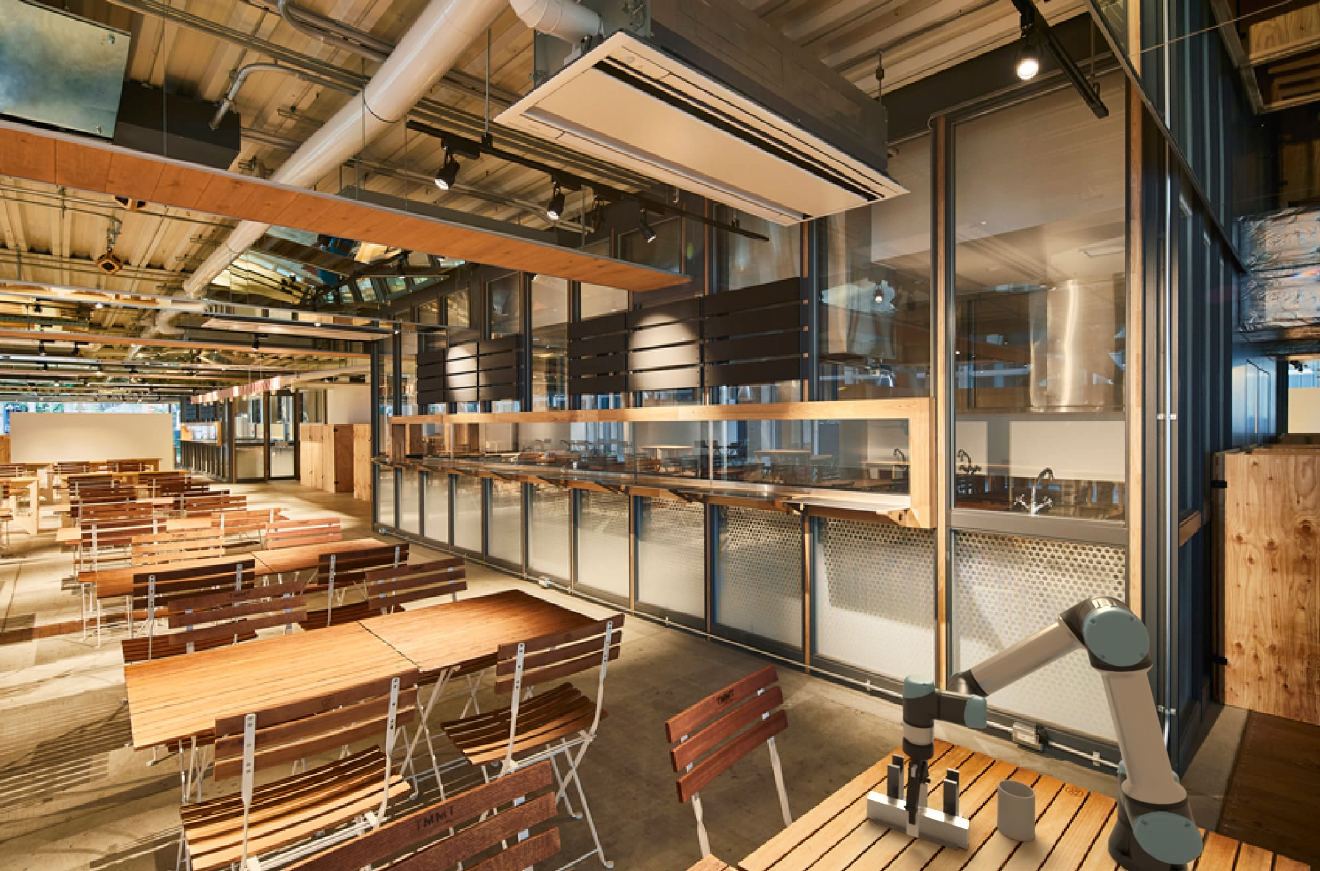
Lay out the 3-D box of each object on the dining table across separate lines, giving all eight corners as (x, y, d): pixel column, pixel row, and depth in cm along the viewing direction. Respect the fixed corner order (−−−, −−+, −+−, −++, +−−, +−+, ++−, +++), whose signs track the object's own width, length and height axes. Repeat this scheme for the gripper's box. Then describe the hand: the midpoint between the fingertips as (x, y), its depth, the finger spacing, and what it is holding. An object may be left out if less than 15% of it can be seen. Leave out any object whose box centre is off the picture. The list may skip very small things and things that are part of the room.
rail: (968, 840, 158) (969, 820, 158) (967, 849, 154) (967, 828, 154) (870, 809, 170) (870, 790, 170) (866, 817, 167) (867, 798, 167)
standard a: (963, 816, 168) (963, 771, 168) (959, 832, 162) (960, 785, 162) (942, 810, 171) (943, 765, 171) (938, 825, 164) (939, 779, 164)
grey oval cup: (1041, 843, 158) (1042, 799, 158) (1005, 840, 159) (1006, 796, 159) (1019, 814, 170) (1020, 773, 170) (986, 811, 171) (986, 771, 171)
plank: (960, 837, 160) (960, 835, 160) (958, 850, 155) (958, 848, 155) (879, 811, 170) (879, 810, 170) (874, 823, 165) (874, 821, 165)
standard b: (907, 799, 176) (908, 756, 176) (902, 814, 169) (902, 769, 169) (888, 794, 178) (889, 751, 178) (882, 808, 172) (883, 764, 171)
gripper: (911, 716, 175) (910, 793, 175) (892, 755, 154) (891, 842, 154) (940, 723, 171) (939, 801, 171) (925, 763, 150) (925, 853, 150)
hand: (917, 821), depth 162 cm, fingers open, 13 cm apart
